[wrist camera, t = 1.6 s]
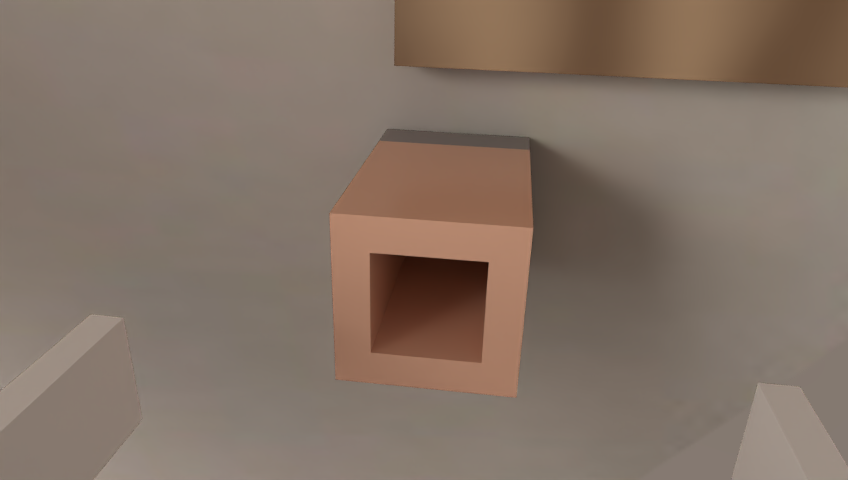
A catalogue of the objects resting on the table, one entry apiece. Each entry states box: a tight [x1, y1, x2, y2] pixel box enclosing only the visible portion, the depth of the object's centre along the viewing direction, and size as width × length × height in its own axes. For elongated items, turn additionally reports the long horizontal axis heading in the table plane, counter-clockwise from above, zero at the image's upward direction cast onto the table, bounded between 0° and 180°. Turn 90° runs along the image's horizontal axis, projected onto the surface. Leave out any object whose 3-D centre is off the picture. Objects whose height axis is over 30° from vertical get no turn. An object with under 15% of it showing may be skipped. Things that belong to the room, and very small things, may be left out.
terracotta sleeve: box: [329, 129, 533, 397], centre depth 21 cm, size 5×5×8 cm
